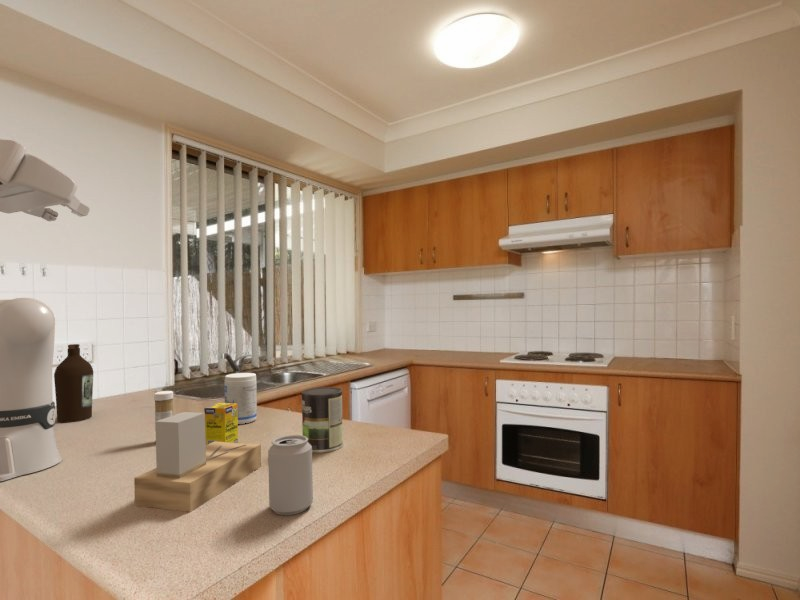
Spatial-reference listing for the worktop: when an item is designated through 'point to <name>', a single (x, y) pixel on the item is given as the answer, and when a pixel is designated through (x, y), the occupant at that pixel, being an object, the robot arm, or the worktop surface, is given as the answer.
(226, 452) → the plank
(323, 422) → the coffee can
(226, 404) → the supplement box
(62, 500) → the worktop surface
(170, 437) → the block
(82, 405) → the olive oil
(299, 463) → the can
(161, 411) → the sprinkles bottle
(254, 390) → the supplement tub
